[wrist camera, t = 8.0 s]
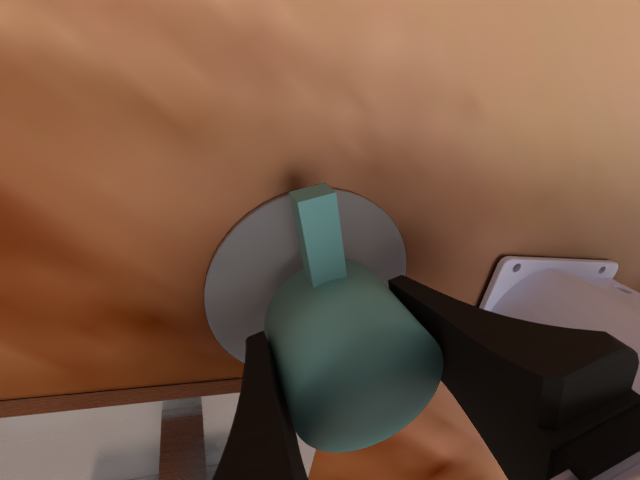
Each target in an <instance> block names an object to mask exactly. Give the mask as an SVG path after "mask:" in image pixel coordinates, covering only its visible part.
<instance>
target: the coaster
mask: <svg viewBox="0 0 640 480" xmlns="http://www.w3.org/2000/svg"><path fill="white" fill-rule="evenodd" d="M332 189H333V190H334V191H335V192H336V196H337V204H338V211H339V219H340V226H341V234H342V241H343V249H344V257H345V259H347V260H352V261H356V262H359V263H361V264H363V265H365V266H367V267H368V268H370V269H371V270H372V271H373V272H374V273H375V274H376V275H377V276H378V277H379V278H380V280H381V281H382V282H383V283H384V284H385V285H386V286H387V287H388V288H389V285H388V280H390V279H392V278H395V277H397V276H400V275H404V276H406V269H407V258H406V251H405V246H404V242H403V239H402V236H401V234H400V232H399V230H398V228H397V226H396V225H395V224H394V222H393V221H392V219H391V218H390V217H389V216H388V215H387V214H386V213H385V212H384V211H383V210H382V209H381V208H379V207H378V206H377V205H375V204H374V203H373V202H371V201H370V200H368V199H366V198H364V197H362V196H360V195H358V194H356V193H353V192H350V191H347V190H342V189H336V188H332ZM303 268H304V266H303V261H302V256H301V251H300V246H299V241H298V236H297V231H296V226H295V221H294V216H293V211H292V206H291V201H290V196H289V192H288V193H286V194H283V195H280V196H277V197H275V198H273V199H271V200H269V201H267V202H265V203H263V204H261V205H259V206H258V207H256V208H255V209H253V210H252V211H250V212H249V213H248V214H246V215H245V216H244V217H243V218H242V219H241V220H240V221H238V222H237V223H236V224H235V225H234V226H233V228H232V229H231V230H230V231H229V232H228V233H227V234H226V235H225V237H224V238H223V240H222V241H221V243H220V244H219V246H218V247H217V249H216V251H215V253H214V255H213V257H212V259H211V261H210V264H209V267H208V270H207V273H206V279H205V285H204V303H205V310H206V317H207V320H208V323H209V326H210V329H211V331H212V332H213V334H214V336H215V338H216V339H217V341H218V342H219V343H220V345H221V346H222V347H223V348H224V349H225V350H226V351H227V352H228V353H229V354H230V355H232V356H233V357H235V358H236V359H238V360H239V361H241V362H243V363H245V352H246V342H245V340H246V339H247V337H249V336H251V335H254V334H256V333H259V332H261V331H264V320H265V314H266V311H267V307H268V305H269V303H270V301H271V299H272V297H273V296H274V294H275V293H276V291H277V290H278V289H279V287H280V286H281V285H282V284H283V283H284V282H285V281H286V280H287V279H289V278H290V277H291V276H292V275H293V274H295V273H297V272H298V271H300V270H301V269H303ZM264 333H265V331H264Z"/></svg>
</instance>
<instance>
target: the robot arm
mask: <svg viewBox="0 0 640 480" xmlns="http://www.w3.org/2000/svg"><path fill="white" fill-rule="evenodd" d="M617 270H618V264H617V263H615V262H613V261H610V260H587V259H565V258H542V257H519V256H506V257H504V258H502V259H501V260H500V261H499V263H498V264H497V267H496V269H495V271H494V274H493V276H492V278H491V281H490V283H489V285H488V288H487V290H486V292H485V295H484V297H483V299H482V302H481V304H480V306H479V308H478V307H475V306H472V305H470V304H467V303H464V302H462V301H459V300H457V299H454V298H452V297H449V296H447V295H445V294H442V293H440V292H438V291H436V290H433V289H431V288H429V287H427V286H425V285H423V284H420V283H418V282H416V281H414V280H412V279H410V278H408V277H406V276H404V275H400V276H397V277H395V278H392V279H390V280H388V285H389V289H390V291H391V292H392V293H393V294H394V295H395V296H396V297H397V298H398V299H399V300H400V302H401V303H402V304H403V305H404V306H405V307H406V308H407V309H408V310H409V311H410V313H411V314H412V315H413V316H414V317H415V318H416V319H417V320H418V321H419V322H420V324H421V325H422V326H423V327H424V328H425V329H426V330H427V331H428V332H429V333H430V335H431V336H432V337H433V338H434V339H435V340H436V342H437V343H438V344H439V346H440V349H441V351H442V355H443V373H442V377H441V381H442V382H443V383H444V384H445V386H446V387H447V388H448V389H449V391H450V392H451V393H452V395H453V396H454V397H455V399H456V400H457V402H458V403H459V405H460V406H461V407H462V409H463V410H464V412H465V413H466V415H467V416H468V418H469V419H470V421H471V422H472V424H473V425H474V426H475V428H476V429H477V431H478V432H479V434H480V435H481V437H482V438H483V440H484V442H485V443H486V445H487V446H488V448H489V449H490V451H491V453H492V454H493V456H494V457H495V459H496V460H497V462H498V464H499V465H500V467H501V468H502V470H503V472H504V473H505V475H506V477H507V478H508V480H640V293H639V292H637V291H635V290H633V289H631V288H629V287H627V286H625V285H623V284H621V283H619V282H617V281H615V280H613V277H614V275H615V274H616V272H617ZM245 342H246V352H245V364H244V372H243V379H242V385H241V390H240V395H239V399H238V404H237V409H236V413H235V416H234V420H233V424H232V427H231V430H230V433H229V437H228V440H227V442H226V445H225V448H224V451H223V454H222V456H221V459H220V462H219V464H218V467H217V469H216V471H215V474H214V476H213V478H212V480H308V477H307V474H306V471H305V468H304V464H303V460H302V457H301V453H300V449H299V444H298V440H297V435H296V431H295V428H294V426H293V423H292V419H291V416H290V413H289V410H288V407H287V403H286V400H285V397H284V394H283V391H282V387H281V384H280V381H279V377H278V374H277V370H276V366H275V362H274V359H273V356H272V353H271V349H270V346H269V343H268V340H267V338H266V335H265V333H264V331H261V332H259V333H256V334H254V335H251V336H249V337H247V339H246V340H245Z"/></svg>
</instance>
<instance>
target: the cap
mask: <svg viewBox="0 0 640 480" xmlns="http://www.w3.org/2000/svg"><path fill="white" fill-rule="evenodd" d="M289 196H290V201H291V206H292V211H293V216H294V221H295V226H296V231H297V236H298V241H299V246H300V251H301V256H302V261H303V266H304V268H303V269H301V270H300V271H298V272H297V273H295V274H293V275H292V276H291V277H290V278H289V279H287V280H286V281H285V282H284V283H283V284H282V285H281V286H280V287H279V289H278V290H277V291H276V293H275V294H274V296H273V297H272V299H271V301H270V303H269V305H268V307H267V311H266V314H265V320H264V331H265V335H266V338H267V340H268V343H269V346H270V349H271V353H272V356H273V359H274V362H275V366H276V370H277V374H278V377H279V381H280V384H281V387H282V391H283V394H284V397H285V400H286V403H287V407H288V410H289V413H290V416H291V419H292V423H293V426H294V428H295V431H296V433H297V434H298V436H299V437H300V439H301V440H302V441H304V442H305V443H306V444H307V445H309V446H311V447H313V448H315V449H317V450H321V451H325V452H350V451H355V450H360V449H363V448H366V447H369V446H372V445H374V444H377V443H379V442H381V441H383V440H385V439H387V438H389V437H391V436H392V435H394V434H396V433H397V432H398V431H400V430H401V429H403V428H404V427H405V426H407V425H408V424H409V423H410V422H411V421H412V420H414V419H415V418H416V417H417V416H418V415H419V414H420V413H421V411H422V410H423V409H424V408H425V407H426V405H427V404H428V403H429V402H430V400H431V398H432V397H433V395H434V394H435V392H436V390H437V388H438V385H439V383H440V380H441V377H442V373H443V355H442V351H441V349H440V346H439V344H438V343H437V342H436V340H435V339H434V338H433V337H432V336H431V335H430V333H429V332H428V331H427V330H426V329H425V328H424V327H423V326H422V325H421V324H420V322H419V321H418V320H417V319H416V318H415V317H414V316H413V315H412V314H411V313H410V311H409V310H408V309H407V308H406V307H405V306H404V305H403V304H402V303H401V302H400V300H399V299H398V298H397V297H396V296H395V295H394V294H393V293H392V292H391V291H390V289H389V288H388V287H387V286H386V285H385V284H384V283H383V282H382V281H381V280H380V278H379V277H378V276H377V275H376V274H375V273H374V272H373V271H372V270H371V269H370V268H368V267H367V266H365V265H363V264H361V263H359V262H356V261H352V260H347V259H345V257H344V249H343V241H342V234H341V226H340V219H339V211H338V204H337V196H336V192H335V191H334V190H333V189H332V188H330V187H329V186H328V185H327V184H326V183H321V184H317V185H313V186H310V187H306V188H302V189H298V190H294V191H290V192H289Z"/></svg>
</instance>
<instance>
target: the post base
mask: <svg viewBox="0 0 640 480" xmlns="http://www.w3.org/2000/svg"><path fill="white" fill-rule="evenodd" d="M241 385H242V379H234V380H223V381H213V382H202V383H191V384H180V385H170V386H159V387H148V388H137V389H127V390H116V391H105V392H94V393H84V394H73V395H62V396H52V397H41V398H30V399H19V400H9V401H0V480H212V478H213V476H214V474H215V471H216V469H217V467H218V464H219V462H220V459H221V456H222V454H223V451H224V448H225V445H226V442H227V440H228V437H229V433H230V430H231V427H232V424H233V420H234V416H235V413H236V409H237V404H238V399H239V395H240V390H241ZM296 435H297V440H298V444H299V449H300V453H301V457H302V460H303V464H304V468H305V471H306V474H307V477H308V475H309V472H310V468H311V465H312V461H313V458H314V454H315V450H316V449H315V448H313V447H311V446H309V445H307V444H306V443H305V442H304V441H302V440H301V439H300V437H299V436H298V434H297V433H296Z"/></svg>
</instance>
